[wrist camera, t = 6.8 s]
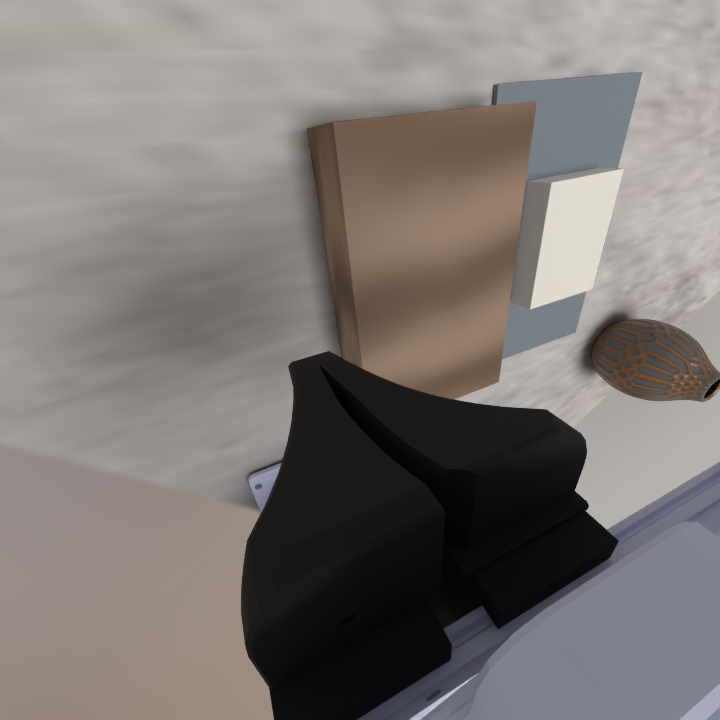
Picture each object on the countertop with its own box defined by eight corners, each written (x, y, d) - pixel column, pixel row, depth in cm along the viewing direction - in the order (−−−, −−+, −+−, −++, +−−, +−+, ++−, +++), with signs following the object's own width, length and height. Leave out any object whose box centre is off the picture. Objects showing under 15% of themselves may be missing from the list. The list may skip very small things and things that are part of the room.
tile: (529, 309, 25) (510, 301, 26) (591, 289, 26) (570, 282, 28) (551, 183, 20) (527, 181, 22) (623, 168, 22) (597, 168, 23)
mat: (572, 330, 31) (575, 332, 31) (471, 367, 28) (473, 369, 28) (637, 73, 22) (642, 72, 21) (494, 85, 18) (498, 84, 18)
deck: (466, 359, 27) (498, 381, 25) (349, 400, 25) (369, 431, 22) (485, 109, 19) (537, 100, 16) (307, 128, 16) (333, 121, 13)
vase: (618, 364, 37) (717, 411, 30) (571, 380, 35) (667, 435, 28) (642, 303, 34) (762, 341, 27) (592, 316, 32) (708, 361, 25)
